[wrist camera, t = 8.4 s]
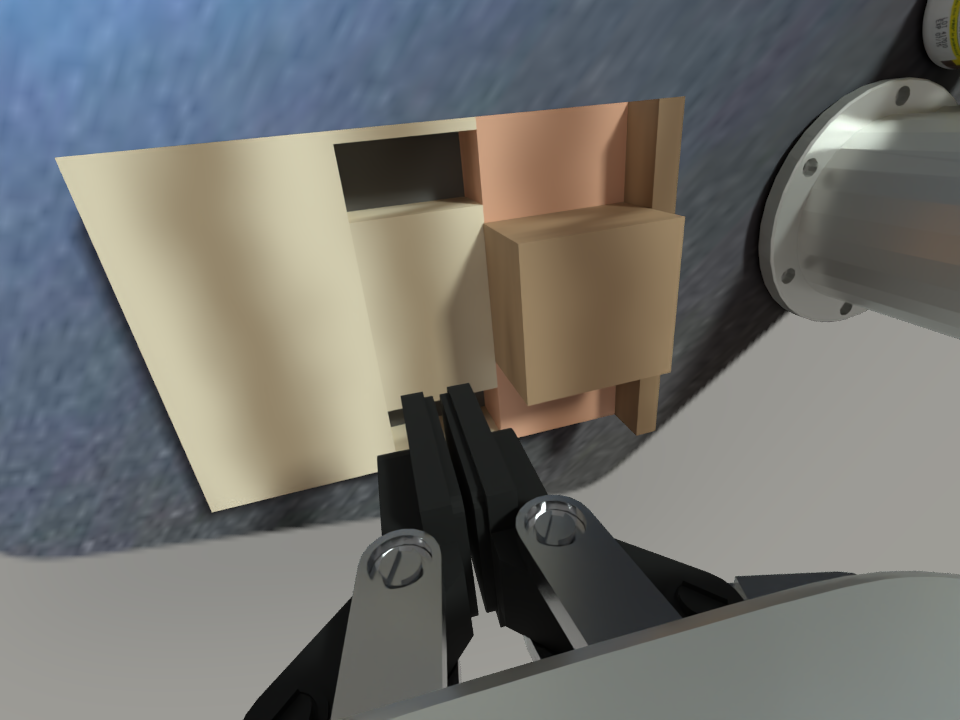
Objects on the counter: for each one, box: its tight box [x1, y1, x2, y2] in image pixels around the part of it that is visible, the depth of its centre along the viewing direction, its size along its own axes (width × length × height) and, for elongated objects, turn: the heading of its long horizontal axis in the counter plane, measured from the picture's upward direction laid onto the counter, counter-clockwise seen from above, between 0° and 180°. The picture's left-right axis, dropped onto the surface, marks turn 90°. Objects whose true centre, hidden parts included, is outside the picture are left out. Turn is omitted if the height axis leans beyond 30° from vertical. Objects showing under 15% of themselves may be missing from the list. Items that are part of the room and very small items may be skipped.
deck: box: [55, 96, 685, 512], centre depth 20 cm, size 20×14×5 cm
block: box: [483, 202, 685, 406], centre depth 19 cm, size 6×6×4 cm
